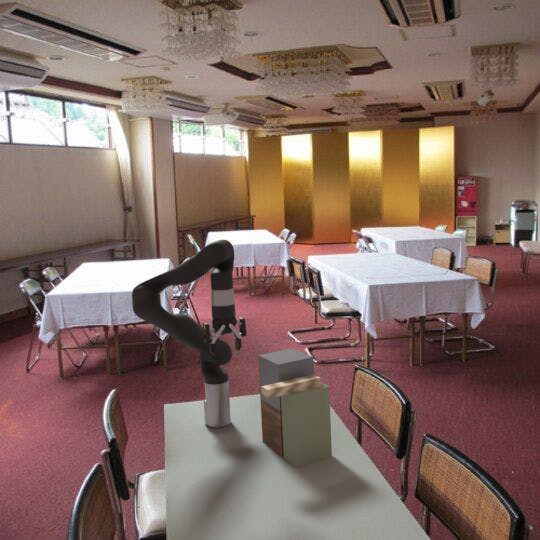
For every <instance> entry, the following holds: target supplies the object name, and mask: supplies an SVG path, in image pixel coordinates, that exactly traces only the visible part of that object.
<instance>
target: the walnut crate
mask: <svg viewBox="0 0 540 540" xmlns="http://www.w3.org/2000/svg"><path fill="white" fill-rule="evenodd" d="M260 414H261V415H260V416H261V417H260V418H261V437H262V438H261V439H262V443H264V444H265V445H267V446H268V447H269V448H270V449H272V450H273V451H275V452H276V453H277V454H278V455H280V456H282V457H284V451H283V429H282V411H279V410H278V409H276V408H275V407H273V406H271V405H270V404H268V403H266V402H265V401H263V400H261V399H260Z"/></svg>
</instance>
